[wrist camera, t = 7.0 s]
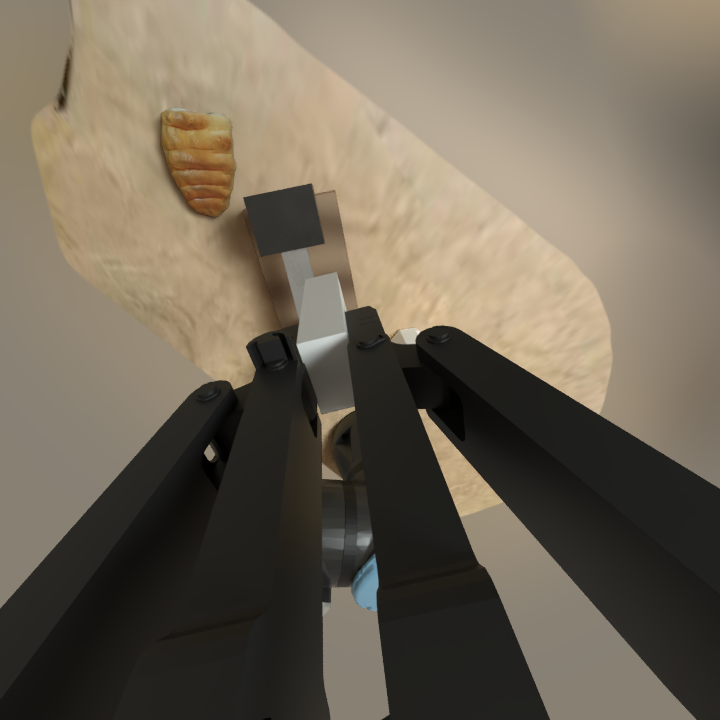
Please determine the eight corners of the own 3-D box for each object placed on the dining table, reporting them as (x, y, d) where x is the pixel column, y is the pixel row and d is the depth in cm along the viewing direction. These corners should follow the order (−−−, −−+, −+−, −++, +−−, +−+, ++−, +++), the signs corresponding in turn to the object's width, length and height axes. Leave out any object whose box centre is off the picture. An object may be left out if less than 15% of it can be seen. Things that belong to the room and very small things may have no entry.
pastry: (245, 215, 38) (237, 220, 35) (182, 213, 37) (168, 218, 34) (233, 112, 33) (222, 107, 30) (160, 107, 33) (142, 102, 29)
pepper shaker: (395, 322, 46) (414, 364, 37) (432, 330, 48) (459, 373, 38) (383, 356, 49) (398, 403, 40) (418, 363, 50) (440, 410, 41)
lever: (355, 381, 40) (357, 392, 37) (305, 391, 40) (303, 403, 37) (313, 186, 32) (311, 183, 29) (250, 199, 32) (243, 197, 29)
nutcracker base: (364, 346, 48) (376, 395, 38) (295, 360, 48) (288, 412, 38) (334, 190, 37) (339, 201, 28) (246, 208, 38) (218, 226, 28)
